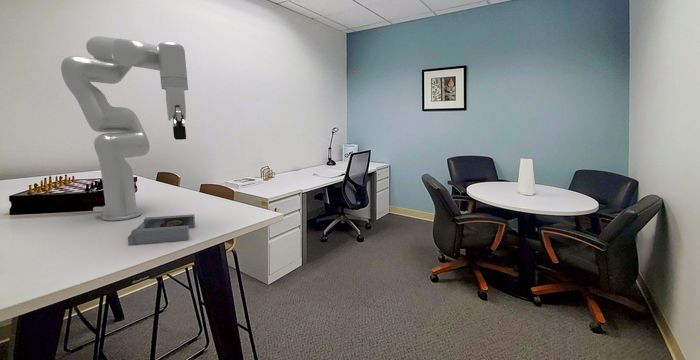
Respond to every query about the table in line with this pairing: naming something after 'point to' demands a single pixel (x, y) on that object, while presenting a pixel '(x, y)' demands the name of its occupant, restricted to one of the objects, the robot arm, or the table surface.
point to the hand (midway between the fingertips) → (180, 138)
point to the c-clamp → (161, 230)
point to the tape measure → (172, 223)
